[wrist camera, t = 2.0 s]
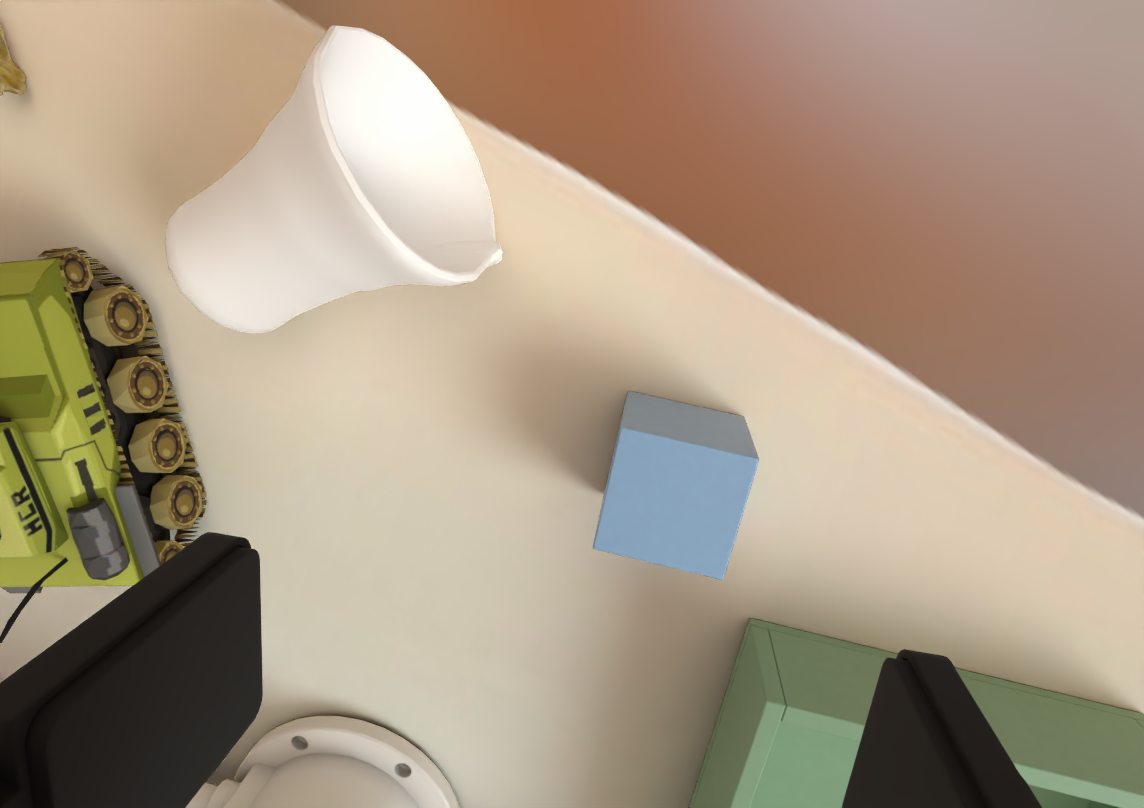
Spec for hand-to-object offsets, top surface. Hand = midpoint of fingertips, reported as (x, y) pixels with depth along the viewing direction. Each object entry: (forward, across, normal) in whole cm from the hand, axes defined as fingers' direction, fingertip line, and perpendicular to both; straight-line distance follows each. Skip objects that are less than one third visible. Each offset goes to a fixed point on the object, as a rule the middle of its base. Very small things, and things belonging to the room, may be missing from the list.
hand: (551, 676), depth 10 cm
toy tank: (+20, +24, +5) cm, 31 cm away
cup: (+18, +16, -2) cm, 24 cm away
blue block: (+20, -3, +4) cm, 21 cm away
